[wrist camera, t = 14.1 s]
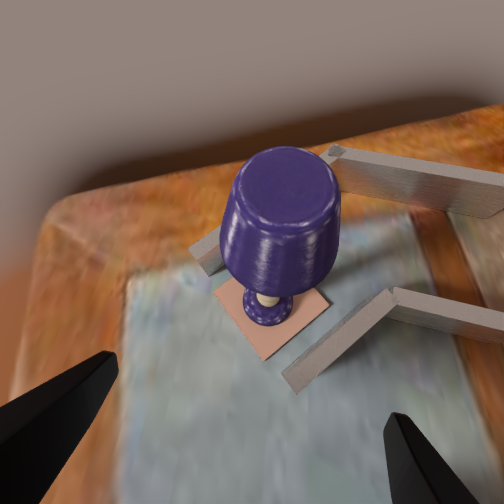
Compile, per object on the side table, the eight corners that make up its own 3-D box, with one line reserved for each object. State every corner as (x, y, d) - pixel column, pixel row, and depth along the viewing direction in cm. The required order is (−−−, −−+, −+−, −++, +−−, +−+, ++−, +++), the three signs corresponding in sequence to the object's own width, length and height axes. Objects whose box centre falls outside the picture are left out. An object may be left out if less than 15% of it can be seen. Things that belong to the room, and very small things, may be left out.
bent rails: (557, 328, 21) (628, 322, 17) (220, 401, 21) (207, 413, 17) (452, 150, 28) (484, 113, 23) (192, 202, 27) (178, 174, 23)
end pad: (263, 361, 22) (263, 361, 21) (213, 292, 24) (212, 291, 23) (328, 305, 23) (329, 305, 22) (275, 246, 25) (275, 244, 25)
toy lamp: (278, 263, 24) (298, 95, 8) (312, 307, 22) (410, 200, 7) (233, 294, 23) (161, 171, 8) (264, 341, 22) (255, 308, 6)
